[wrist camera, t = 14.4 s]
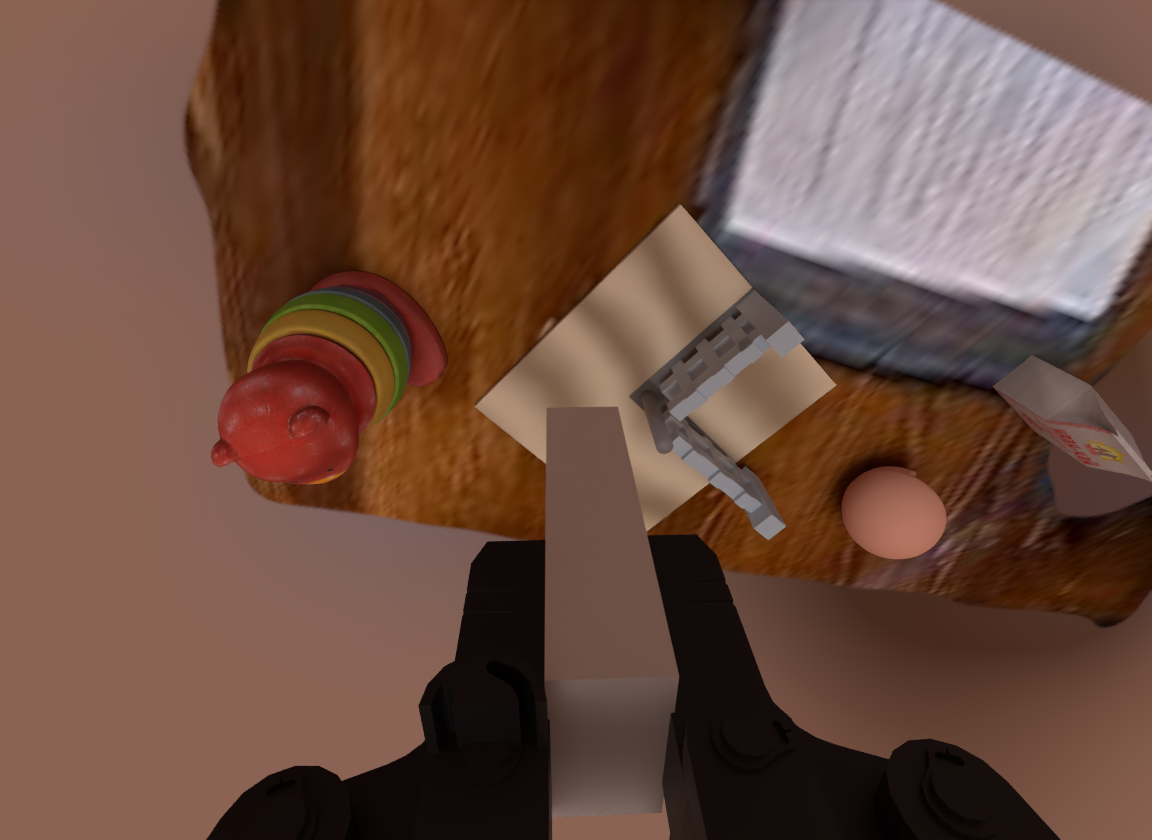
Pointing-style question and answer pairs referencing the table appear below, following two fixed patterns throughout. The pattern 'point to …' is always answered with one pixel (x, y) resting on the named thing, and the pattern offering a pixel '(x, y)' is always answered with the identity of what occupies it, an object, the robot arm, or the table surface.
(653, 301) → the board
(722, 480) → the gray castle wall
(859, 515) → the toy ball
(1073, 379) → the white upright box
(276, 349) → the stacking bear
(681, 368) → the fixed fence panel
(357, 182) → the table surface
